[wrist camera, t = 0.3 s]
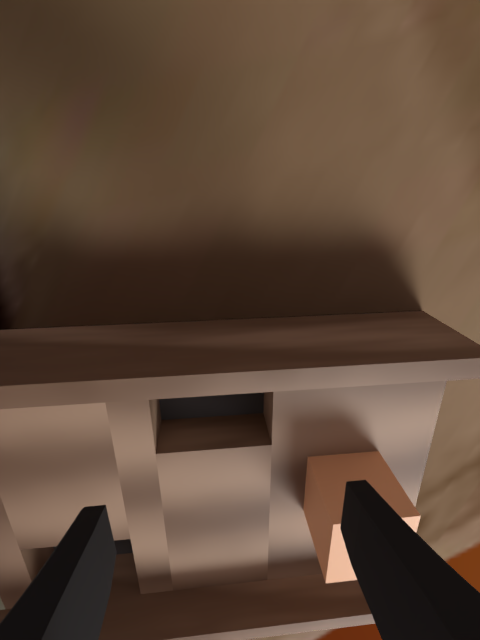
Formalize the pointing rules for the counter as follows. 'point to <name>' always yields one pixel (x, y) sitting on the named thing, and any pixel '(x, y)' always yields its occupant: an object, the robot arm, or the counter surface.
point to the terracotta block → (328, 498)
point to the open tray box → (210, 457)
